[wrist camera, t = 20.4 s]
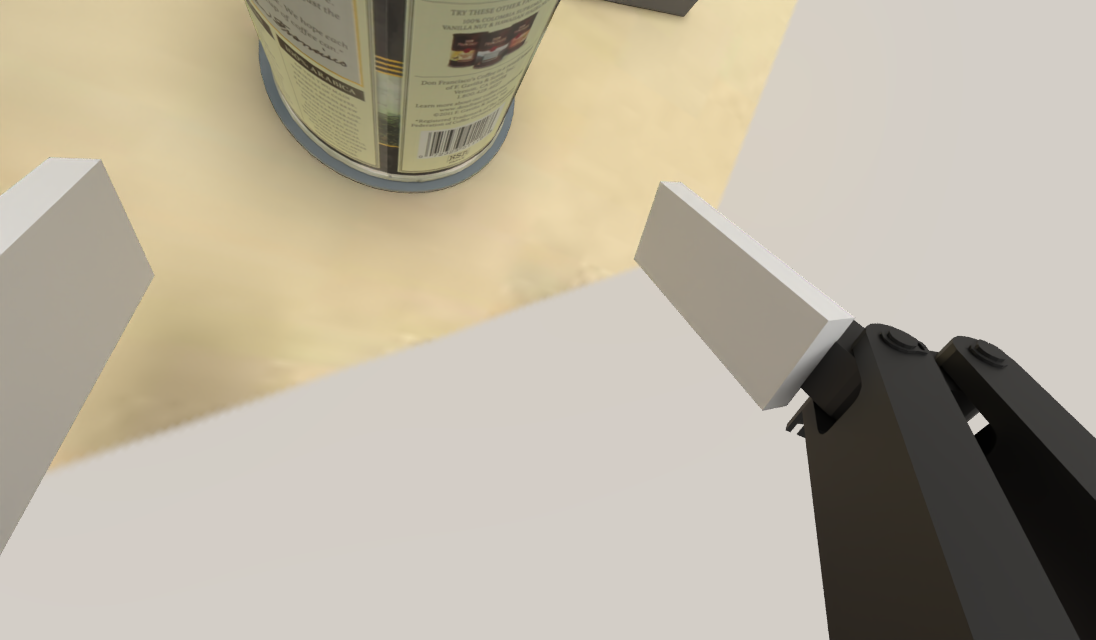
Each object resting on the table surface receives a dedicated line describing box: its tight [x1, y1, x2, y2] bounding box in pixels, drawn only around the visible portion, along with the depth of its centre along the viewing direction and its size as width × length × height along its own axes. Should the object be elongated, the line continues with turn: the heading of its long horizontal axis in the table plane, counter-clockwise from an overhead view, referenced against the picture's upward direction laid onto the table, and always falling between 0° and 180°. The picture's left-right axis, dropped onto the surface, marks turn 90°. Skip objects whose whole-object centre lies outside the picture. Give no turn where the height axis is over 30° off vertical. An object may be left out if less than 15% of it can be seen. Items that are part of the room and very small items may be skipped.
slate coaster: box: [259, 39, 515, 193], centre depth 20 cm, size 11×11×1 cm
